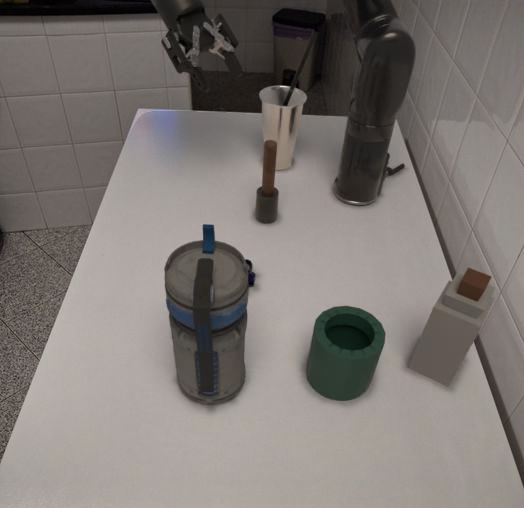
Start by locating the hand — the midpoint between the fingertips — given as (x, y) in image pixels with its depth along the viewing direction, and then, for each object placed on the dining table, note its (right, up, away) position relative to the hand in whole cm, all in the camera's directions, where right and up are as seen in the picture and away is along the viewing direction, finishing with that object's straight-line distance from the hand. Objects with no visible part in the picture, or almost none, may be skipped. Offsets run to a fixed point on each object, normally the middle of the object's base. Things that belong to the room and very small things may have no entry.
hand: (223, 83), depth 91 cm
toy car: (0, -35, +1) cm, 35 cm away
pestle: (+8, -20, +14) cm, 26 cm away
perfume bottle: (+35, -50, -9) cm, 62 cm away
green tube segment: (+19, -52, -12) cm, 56 cm away
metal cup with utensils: (+11, -5, +27) cm, 30 cm away
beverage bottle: (-1, -53, -14) cm, 55 cm away
